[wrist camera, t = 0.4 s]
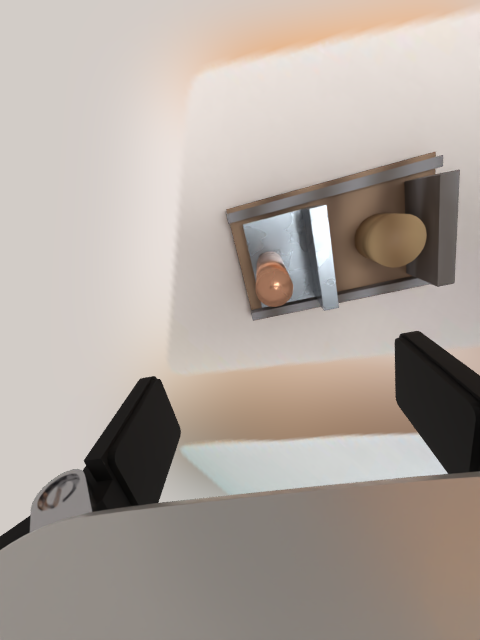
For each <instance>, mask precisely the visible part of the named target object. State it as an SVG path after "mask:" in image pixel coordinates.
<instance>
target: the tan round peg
mask: <svg viewBox="0 0 480 640" xmlns="http://www.w3.org/2000/svg"><path fill="white" fill-rule="evenodd" d="M426 236H427V234H426V228H425V225H424V224H423V222H422V221H421V220H420V219H419V218H418V217H416V216H414V215H411V214H397V213H378V214H374V215H372V216H369V217H368V218H366V219H365V220H364V221H363V222H362V223H361V224H360V226H359V227H358V229H357V231H356V234H355V246H356V249H357V251H358V252H359V253H360V254H361V255H362V256H364V257H366V258H368V259H370V260H372V261H375V262H377V263H379V264H381V265H383V266H386V267H392V268H394V267H401V266H404V265H406V264H408V263H410V262H412V261H413V260H414V259H415V258H416V257H417V256H418V255H419V254H420V253H421V251H422V250H423V248H424V245H425V243H426Z"/></svg>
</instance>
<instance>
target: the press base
mask: <svg viewBox="0 0 480 640" xmlns="http://www.w3.org/2000/svg"><path fill="white" fill-rule="evenodd" d="M442 166H443V155H441V156H437V157H436V152H432V153H429V154H425V155H422V156H418V157H414V158H411V159H407V160H403V161H400V162H396V163H393V164H389V165H385V166H382V167H378V168H375V169H371V170H367V171H364V172H360V173H356V174H353V175H349V176H346V177H342V178H338V179H335V180H331V181H328V182H324V183H320V184H317V185H313V186H309V187H306V188H302V189H299V190H295V191H291V192H288V193H284V194H281V195H277V196H273V197H270V198H266V199H262V200H259V201H255V202H252V203H248V204H244V205H241V206H237V207H234V208H230V209H226V210H227V214H226V215H227V219H228V223H230V226H231V230H232V234H233V238H234V242H235V246H236V250H237V254H238V258H239V262H240V266H241V270H242V274H243V278H244V282H245V286H246V290H247V294H248V298H249V302H250V306H251V314H252V318H253V320H259V319H264V318H269V317H273V316H278V315H283V314H288V313H293V312H298V311H302V310H307V309H312V308H317V307H321V305H320V304H319V302H318V300H317V299H316V297H311V298H306V299H301V300H297V301H292V302H287V303H285V304H283V305H281V306H278V307H270V306H269V307H264V308H262V305H261V301H260V300H259V299H258V297H257V294H256V280H255V275H254V271H253V267H252V263H251V258H250V254H249V250H248V246H247V241H246V237H245V233H244V228H243V224H246V223H250V222H254V221H258V220H262V219H265V218H269V217H273V216H277V215H280V214H284V213H288V212H292V211H295V210H299V209H303V208H307V207H311V206H316V205H327V214H328V222H329V230H330V238H331V247H332V255H333V263H334V271H335V280H336V288H337V296H338V303H341V302H346V301H351V300H356V299H361V298H366V297H370V296H375V295H380V294H385V293H390V292H395V291H400V290H404V289H409V288H414V287H419V286H424V285H429V284H433V285H435V286H437V287H439V286H443V285H448V284H453V283H454V281H455V260H456V239H457V218H458V197H459V175H460V170H455V171H450V172H445V173H440V174H435V168H438V167H442ZM378 213H397V214H411V215H414V216H416V217H418V218H419V219H420V220H421V221H422V222H423V224H424V225H425V228H426V234H427V236H426V243H425V245H424V248H423V250H422V251H421V253H420V254H419V255H418V256H417V257H416V258H415V259H414V260H413V261H412V262H410V263H408V264H406V265H404V266H401V267H394V268H392V267H386V266H383V265H381V264H379V263H377V262H375V261H372V260H370V259H368V258H366V257H364V256H362V255H361V254H360V253H359V252H358V251H357V249H356V246H355V234H356V231H357V229H358V227H359V226H360V224H361V223H362V222H363V221H364V220H365V219H366V218H368V217H369V216H372V215H374V214H378Z"/></svg>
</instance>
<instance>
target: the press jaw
mask: <svg viewBox="0 0 480 640" xmlns="http://www.w3.org/2000/svg"><path fill="white" fill-rule="evenodd" d="M243 228H244V233H245V237H246V241H247V246H248V250H249V254H250V258H251V263H252V267H253V271H254V275H255V280H256V294H257V297H258V299H259V300H260V301H261V305H262V308H264V307H269V306H270V307H278V306H281V305H283V304H285V303H287V302H292V301H297V300H301V299H306V298H311V297H316V299H317V300H318V302H319V304H320V305H321V307H322V308H323V310H324V311H325V310H329V309H334V308H339V305H338V296H337V288H336V280H335V271H334V263H333V255H332V247H331V238H330V230H329V222H328V214H327V205H316V206H311V207H307V208H303V209H299V210H295V211H292V212H288V213H284V214H280V215H277V216H273V217H269V218H265V219H262V220H258V221H254V222H250V223H246V224H243Z"/></svg>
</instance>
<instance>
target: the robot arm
mask: <svg viewBox="0 0 480 640" xmlns="http://www.w3.org/2000/svg"><path fill="white" fill-rule="evenodd" d="M395 383H396V384H395V386H396V401H397V403H398V405H399V407H400V408H401V410H402V411H403V413H404V414H405V415H406V417H407V418H408V419H409V421H410V422H411V423H412V425H413V426H414V428H415V429H416V430H417V432H418V433H419V434H420V436H421V437H422V439H423V440H424V441H425V443H426V444H427V445H428V447H429V448H430V449H431V451H432V452H433V454H434V455H435V456H436V458H437V459H438V460H439V462H440V463H441V464H442V466H443V467H444V469H445V470H446V471H447V473H448V474H442V475H429V476H417V477H406V478H396V479H386V480H375V481H365V482H355V483H345V484H334V485H324V486H314V487H304V488H295V489H285V490H275V491H265V492H256V493H246V494H237V495H227V496H218V497H209V498H200V499H191V500H181V501H172V502H163V503H158V502H159V499H160V496H161V493H162V490H163V487H164V483H165V481H166V478H167V474H168V472H169V469H170V466H171V463H172V459H173V457H174V454H175V451H176V448H177V444H178V441H179V438H180V434H181V430H180V426H179V424H178V421H177V419H176V417H175V414H174V411H173V409H172V407H171V404H170V402H169V399H168V397H167V394H166V392H165V389H164V387H163V384H162V382H161V380H160V379H157V378H156V377H154V376H152V377H146V378H142V379H140V380H139V381H138V382H137V384H136V385H135V387H134V388H133V390H132V391H131V393H130V394H129V395H128V397H127V398H126V400H125V401H124V403H123V404H122V406H121V407H120V409H119V410H118V411H117V413H116V414H115V416H114V417H113V419H112V421H111V422H110V423H109V425H108V426H107V427H106V429H105V430H104V432H103V434H102V435H101V436H100V438H99V439H98V441H97V442H96V444H95V445H94V446H93V448H92V449H91V451H90V452H89V454H88V455H87V457H86V458H85V460H84V462H85V464H86V467H85V468H84V470H83V471H82V470H79V469H73V470H70V471H67V472H64V473H62V474H60V475H58V476H57V477H56V478H54V479H53V480H51V481H50V482H49V483H48V484H47V485H46V486H44V487H43V488H42V490H41V491H40V492H39V493H38V495H37V496H36V498H35V499H34V501H33V503H32V507H31V515H30V516H29V517H28V518H26V519H25V520H23V521H22V522H20V523H19V524H17V525H16V526H15V527H13V528H12V529H10V530H9V531H8V532H6V533H5V534H3V535H2V536H0V640H480V376H479V375H478V374H477V373H475V372H474V371H473V370H471V369H470V368H469V367H467V366H466V365H465V364H463V363H462V362H460V361H459V360H458V359H456V358H455V357H454V356H452V355H451V354H450V353H448V352H447V351H446V350H444V349H443V348H441V347H440V346H439V345H437V344H436V343H435V342H433V341H432V340H431V339H429V338H428V337H427V336H425V335H424V334H422V333H421V332H419V331H414V332H408V333H402V334H400V336H399V338H396V339H395Z"/></svg>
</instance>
